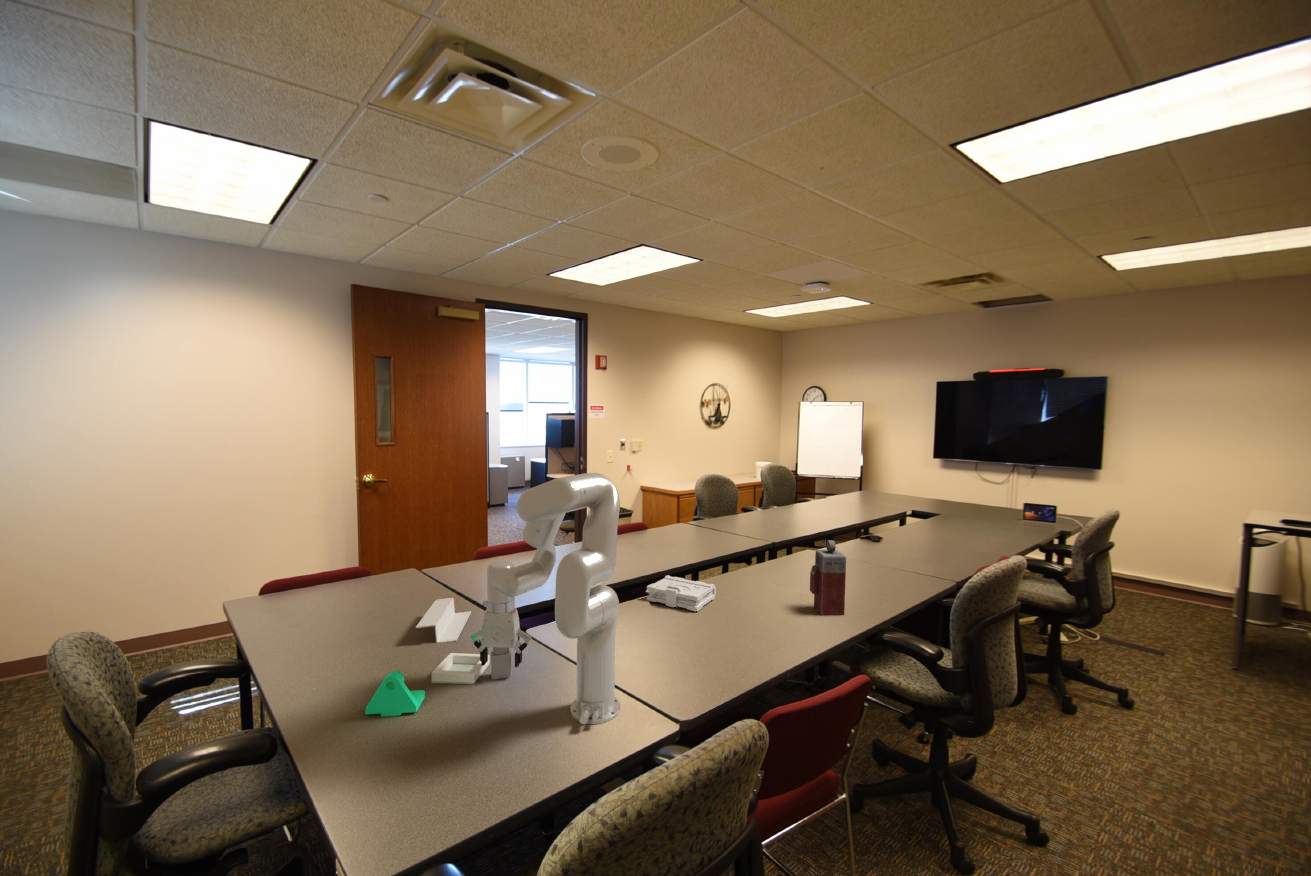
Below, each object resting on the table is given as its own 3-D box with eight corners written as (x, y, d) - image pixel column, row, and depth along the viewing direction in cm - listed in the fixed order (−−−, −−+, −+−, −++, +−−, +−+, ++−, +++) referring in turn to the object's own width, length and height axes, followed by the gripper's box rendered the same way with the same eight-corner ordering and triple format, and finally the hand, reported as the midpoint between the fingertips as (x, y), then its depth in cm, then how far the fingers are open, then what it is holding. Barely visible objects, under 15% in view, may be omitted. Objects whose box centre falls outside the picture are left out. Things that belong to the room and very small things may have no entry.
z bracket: (417, 645, 173) (415, 627, 173) (437, 616, 198) (435, 599, 198) (456, 640, 175) (454, 622, 175) (471, 612, 200) (469, 595, 199)
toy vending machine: (807, 607, 210) (809, 537, 208) (836, 608, 210) (838, 537, 208) (814, 616, 201) (817, 543, 199) (844, 616, 201) (847, 543, 199)
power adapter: (511, 678, 152) (511, 637, 151) (491, 680, 151) (491, 639, 150) (510, 673, 155) (510, 632, 154) (491, 675, 153) (491, 634, 153)
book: (658, 586, 234) (658, 569, 233) (717, 598, 220) (717, 580, 219) (634, 599, 217) (635, 581, 217) (696, 613, 203) (697, 594, 203)
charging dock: (473, 684, 148) (473, 674, 148) (431, 682, 149) (431, 672, 149) (489, 664, 160) (489, 654, 160) (450, 662, 161) (450, 652, 161)
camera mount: (426, 699, 141) (425, 661, 140) (416, 716, 133) (415, 676, 133) (378, 701, 140) (377, 663, 139) (365, 718, 132) (364, 677, 131)
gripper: (465, 609, 148) (466, 669, 149) (527, 611, 147) (526, 671, 148) (476, 599, 156) (476, 656, 157) (534, 601, 155) (534, 659, 156)
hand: (501, 664), depth 153 cm, fingers open, 9 cm apart
